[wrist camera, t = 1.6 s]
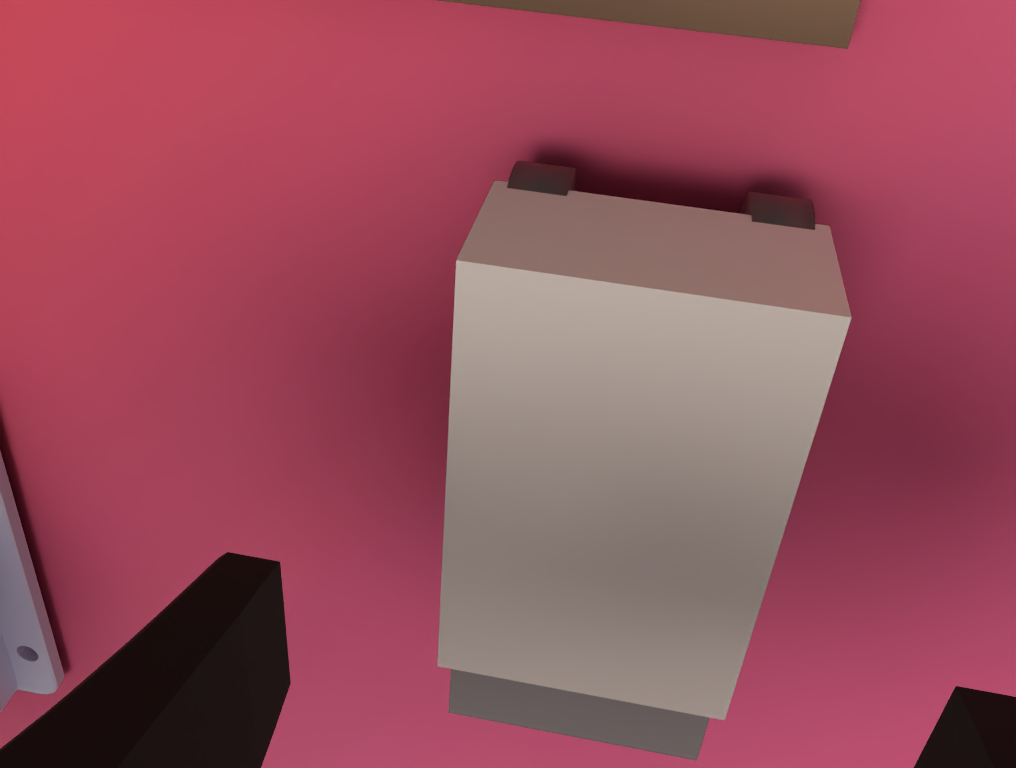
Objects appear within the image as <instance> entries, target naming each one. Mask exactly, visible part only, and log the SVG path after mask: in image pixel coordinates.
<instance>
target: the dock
mask: <svg viewBox="0 0 1016 768" xmlns="http://www.w3.org/2000/svg"><path fill="white" fill-rule="evenodd" d="M439 1H448V2H456V3H464V4H473V5H481V6H490V7H498V8H507V9H515V10H524V11H532V12H541V13H549V14H558V15H566V16H575V17H583V18H592V19H600V20H608V21H617V22H625V23H634V24H642V25H651V26H659V27H668V28H676V29H685V30H693V31H702V32H710V33H719V34H727V35H736V36H744V37H753V38H761V39H769V40H778V41H786V42H795V43H803V44H812V45H820V46H829V47H837V48H846V49H848V46H849V43H850V39H851V35H852V31H853V28H854V24H855V20H856V16H857V12H858V9H859V5H860V1H861V0H439Z"/></svg>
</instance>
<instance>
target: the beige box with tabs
mask: <svg viewBox="0 0 1016 768" xmlns="http://www.w3.org/2000/svg"><path fill="white" fill-rule="evenodd" d="M576 183H577V171H576V168H571V167H564V166H556V165H549V164H541V163H534V162H526V161H517V162H516V163H515V165H514V167H513V170H512V172H511V175H510V178H509V182H504V181H497V180H494V183H493V185H492V187H491V189H490V191H489V193H488V195H487V197H486V199H485V201H484V203H483V205H482V208H481V210H480V212H479V214H478V216H477V218H476V220H475V222H474V224H473V226H472V228H471V230H470V233H469V235H468V237H467V239H466V241H465V243H464V245H463V247H462V249H461V251H460V253H459V255H458V258H457V260H456V276H455V298H454V319H453V341H452V362H451V384H450V406H449V427H448V449H447V470H446V492H445V513H444V535H443V557H442V578H441V600H440V621H439V643H438V665H437V666H439V667H444V668H449V669H451V681H450V698H449V713H454V714H459V715H464V716H469V717H475V718H480V719H485V720H490V721H495V722H500V723H506V724H511V725H516V726H521V727H526V728H531V729H537V730H542V731H547V732H552V733H557V734H563V735H568V736H573V737H578V738H583V739H588V740H594V741H599V742H604V743H609V744H614V745H620V746H625V747H630V748H635V749H640V750H645V751H651V752H656V753H661V754H666V755H671V756H676V757H682V758H687V759H692V760H697V758H698V755H699V751H700V748H701V745H702V741H703V738H704V735H705V731H706V728H707V725H708V721H709V718H715V719H720V720H725V718H726V714H727V711H728V708H729V705H730V702H731V699H732V695H733V692H734V689H735V686H736V683H737V680H738V676H739V673H740V670H741V667H742V664H743V661H744V657H745V654H746V651H747V648H748V645H749V642H750V638H751V635H752V632H753V629H754V626H755V623H756V619H757V616H758V613H759V610H760V607H761V603H762V600H763V597H764V594H765V591H766V588H767V584H768V581H769V578H770V575H771V572H772V569H773V565H774V562H775V559H776V556H777V553H778V550H779V546H780V543H781V540H782V537H783V534H784V531H785V527H786V524H787V521H788V518H789V515H790V512H791V508H792V505H793V502H794V499H795V496H796V492H797V489H798V486H799V483H800V480H801V477H802V473H803V470H804V467H805V464H806V461H807V458H808V454H809V451H810V448H811V445H812V442H813V439H814V435H815V432H816V429H817V426H818V423H819V420H820V416H821V413H822V410H823V407H824V404H825V401H826V397H827V394H828V391H829V388H830V385H831V381H832V378H833V375H834V372H835V369H836V366H837V362H838V359H839V356H840V353H841V350H842V347H843V343H844V340H845V337H846V334H847V331H848V328H849V324H850V321H851V318H852V317H851V313H850V309H849V305H848V300H847V296H846V292H845V288H844V284H843V280H842V275H841V271H840V267H839V263H838V259H837V255H836V251H835V246H834V242H833V238H832V234H831V230H830V226H827V225H820V224H815V212H814V207H813V203H812V201H811V200H809V199H803V198H795V197H788V196H780V195H773V194H766V193H758V192H751V191H749V192H748V193H747V194H746V196H745V198H744V200H743V203H742V205H741V208H740V211H739V213H732V212H724V211H717V210H710V209H702V208H695V207H688V206H680V205H673V204H666V203H658V202H651V201H644V200H636V199H629V198H622V197H614V196H607V195H600V194H592V193H585V192H578V191H576Z"/></svg>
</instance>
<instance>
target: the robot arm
mask: <svg viewBox="0 0 1016 768" xmlns="http://www.w3.org/2000/svg"><path fill="white" fill-rule="evenodd" d="M63 680H64V672H63V668H62V665H61V661H60V658H59V654H58V651H57V647H56V644H55V640H54V637H53V633H52V630H51V626H50V623H49V619H48V616H47V612H46V609H45V605H44V602H43V598H42V595H41V591H40V588H39V584H38V581H37V577H36V574H35V570H34V567H33V563H32V560H31V556H30V553H29V549H28V546H27V542H26V539H25V535H24V532H23V528H22V525H21V521H20V518H19V514H18V511H17V507H16V504H15V500H14V497H13V493H12V490H11V486H10V483H9V479H8V476H7V472H6V469H5V465H4V462H3V458H2V455H1V451H0V713H1V712H2V710H3V709H4V707H5V706H6V705H7V703H8V702H9V700H10V699H11V698H12V696H13V695H14V694H15V692H16V691H17V689H18V690H23V691H28V692H33V693H38V694H51V693H54V692H55V691H56V690H57V688H58V687H59V686H60V684H61V683H62V681H63ZM289 686H290V672H289V661H288V649H287V637H286V626H285V614H284V602H283V591H282V579H281V567H280V562H278V561H273V560H267V559H262V558H256V557H251V556H245V555H240V554H234V553H229V552H227V553H226V554H224V555H222V556H221V557H219V558H218V559H217V560H216V561H215V562H214V563H213V564H212V565H211V566H210V567H208V568H207V569H206V570H205V571H204V572H203V573H202V574H201V575H200V576H199V577H198V578H197V579H196V580H195V581H194V582H192V583H191V584H190V585H189V586H188V587H187V588H186V589H185V590H184V591H183V592H182V593H181V594H180V595H179V596H178V597H177V598H175V599H174V600H173V601H172V602H171V603H170V604H169V605H168V606H167V607H166V608H165V609H164V610H163V611H161V612H160V613H159V614H158V615H157V616H156V617H155V618H154V619H153V620H152V621H151V622H149V623H148V624H147V625H146V626H145V627H144V628H143V629H142V630H141V631H140V632H138V633H137V634H136V635H135V636H134V637H133V638H132V639H131V640H130V641H129V642H127V643H126V644H125V645H124V646H123V647H122V648H121V649H120V650H118V651H117V652H116V653H115V654H114V655H113V656H111V657H110V658H109V659H108V660H107V661H106V662H105V663H103V664H102V665H101V666H100V667H99V668H98V669H97V670H95V671H94V672H93V673H92V674H91V675H90V676H88V677H87V678H86V679H85V680H84V681H83V682H82V683H80V684H79V685H78V686H77V687H76V688H75V689H73V690H72V691H71V692H70V693H69V694H68V695H67V696H65V697H64V698H63V699H62V700H61V701H59V702H58V703H57V704H56V705H55V706H53V707H52V708H51V709H50V710H49V711H47V712H46V713H45V714H44V715H42V716H41V717H40V718H39V719H37V720H36V721H35V722H34V723H32V724H31V725H30V726H29V727H27V728H26V729H25V730H24V731H22V732H21V733H20V734H19V735H17V736H16V737H15V738H13V739H12V740H11V741H10V742H8V743H7V744H6V745H5V746H3V747H2V748H1V749H0V768H261V766H262V763H263V760H264V758H265V755H266V752H267V749H268V747H269V744H270V741H271V738H272V735H273V733H274V730H275V727H276V724H277V721H278V718H279V715H280V712H281V709H282V706H283V703H284V701H285V698H286V695H287V692H288V689H289ZM914 768H1016V697H1012V696H1007V695H1002V694H996V693H991V692H985V691H980V690H974V689H969V688H963V687H958V686H956V687H955V689H954V691H953V693H952V695H951V697H950V699H949V700H948V702H947V704H946V706H945V708H944V710H943V712H942V714H941V716H940V718H939V720H938V722H937V724H936V726H935V728H934V730H933V732H932V734H931V735H930V737H929V739H928V741H927V743H926V745H925V747H924V749H923V751H922V753H921V755H920V757H919V759H918V761H917V763H916V765H915V767H914Z"/></svg>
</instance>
